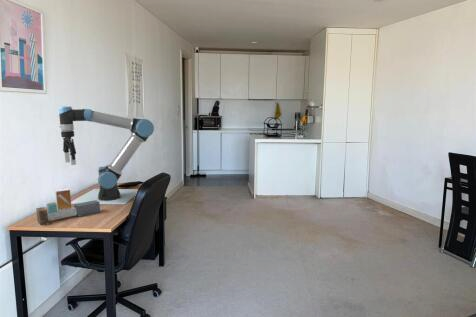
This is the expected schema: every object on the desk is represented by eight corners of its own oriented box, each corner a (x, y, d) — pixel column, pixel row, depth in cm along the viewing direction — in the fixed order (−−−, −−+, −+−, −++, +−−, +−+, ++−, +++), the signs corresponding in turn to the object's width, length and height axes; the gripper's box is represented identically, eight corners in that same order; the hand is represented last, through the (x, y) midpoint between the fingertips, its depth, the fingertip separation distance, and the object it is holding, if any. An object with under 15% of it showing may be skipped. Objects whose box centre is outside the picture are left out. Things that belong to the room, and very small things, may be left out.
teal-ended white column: (77, 212, 212) (76, 198, 211) (79, 214, 209) (78, 200, 207) (42, 219, 200) (41, 204, 199) (44, 221, 197) (42, 206, 195)
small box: (57, 211, 219) (55, 191, 217) (56, 209, 224) (54, 189, 222) (71, 209, 223) (70, 189, 221) (70, 207, 229) (68, 187, 227)
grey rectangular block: (96, 210, 221) (95, 200, 220) (100, 212, 216) (99, 202, 215) (74, 214, 212) (74, 204, 211) (78, 217, 207) (77, 206, 206)
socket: (45, 220, 203) (44, 206, 202) (48, 223, 197) (47, 209, 195) (37, 221, 200) (36, 208, 199) (40, 225, 194) (39, 211, 193)
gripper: (56, 130, 230) (59, 162, 233) (66, 132, 211) (69, 166, 214) (68, 129, 234) (71, 160, 238) (79, 131, 216) (82, 165, 219)
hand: (70, 163), depth 226 cm, fingers open, 13 cm apart
